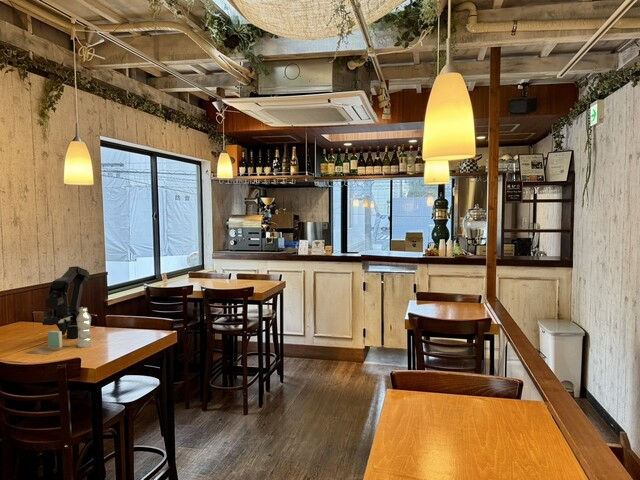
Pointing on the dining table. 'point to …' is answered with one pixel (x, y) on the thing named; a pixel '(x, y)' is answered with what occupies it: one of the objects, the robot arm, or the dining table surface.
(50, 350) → the board
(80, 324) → the plastic bottle
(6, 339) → the dining table surface
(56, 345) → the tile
